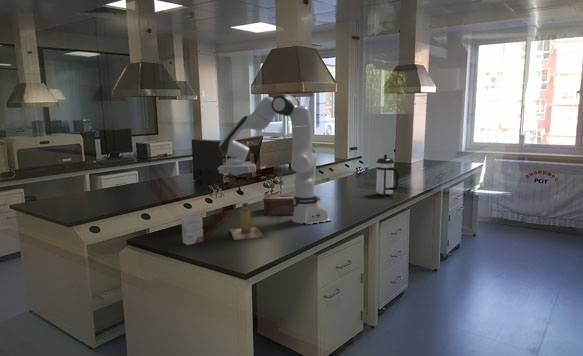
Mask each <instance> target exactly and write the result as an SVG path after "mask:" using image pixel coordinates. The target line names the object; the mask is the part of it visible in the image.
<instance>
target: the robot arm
mask: <svg viewBox="0 0 583 356" xmlns="http://www.w3.org/2000/svg"><path fill="white" fill-rule="evenodd" d="M277 114H278V115H281V116H285V117H289V118H290V121H291V123H290V124H291V132H292V133H291V135H292V147H291V149H292V150H291V162H290V164H291V165H290V166H291V168H292V169H293V171H294V172H296V173H295V179H294V194H295V196H294V213H293V214H292V217H291V218H292V219H291V221H292V222H294V223H295V224H303V223H305V225H308V224H310V225H314V224H313V223H317V224H320V223H319V222H324V223H327V222H326V221H331V220H332V221H333V219H332V216H330V215H329V213H328V210H327V209H326V207H325V206H323V204H321V203H320V201H321V197H320V196H316V195H315V181H316V180H315V179H316V174H317V173H316V171H317V170H316V169H317V161H318V159H317V156H316V154H315V152H314V151H313V142H314V136H313V134H314V133H313V124H312V123H313V122H312V117H311V112H310V109H309V108H308V107H307V106H306V105H300V100H299V98H297V97H296V96H294V95H291V94H286V93H285V94H282V93H281V94H278V95H275V96H274V97H272V96H265V97H263V98H262V99H261V101H259V103H258V104H257V105H256V107H255V109H254V111H253V112H252V113H251V114H249V115H244V116H243V117H242V118H241V119H239V121H238V122H237V123H236V124H235V125H234V127H233V128H232V129H231V130H230V131H229V132H228V133H227V134H226V135H225V137H224V138H222V139H221V141H220V143H219V145H218V149H219V151H220V153H221V154H223V155H227V156H229V157H230V158H228V159H227V161H226V162H225V164H224V165H219V166H218V167H217V170H218V173H219V174H230V175H232V176H236V177H237V176H240V175H244V174H250V173H256V172H257V166H256V165H257V164H255V163H252V162H251V161H249V160H250V157H251V153H252V152H251V149H250V147H249V146H247V145H245V144H244V143H241V142H238V141H237V140H235V139H236V137H237V136H238V135H239V133H241V131H243V130H247V129H248V130H255V131H256V130H257V131H260V130H265V129H266V128H268V127H269V125H270V124H271V122H272V121H273V119H274V116H276V115H277ZM332 221H331V222H332Z"/></svg>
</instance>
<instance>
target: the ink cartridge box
mask: <svg viewBox="0 0 583 356" xmlns="http://www.w3.org/2000/svg"><path fill="white" fill-rule="evenodd" d="M203 226H204V225H203V215H202V211H195V212H191V213H184V217H183V218H181V233H182V244H185V246H189V245H194V244H198V243H203V242H204V228H203Z"/></svg>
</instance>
